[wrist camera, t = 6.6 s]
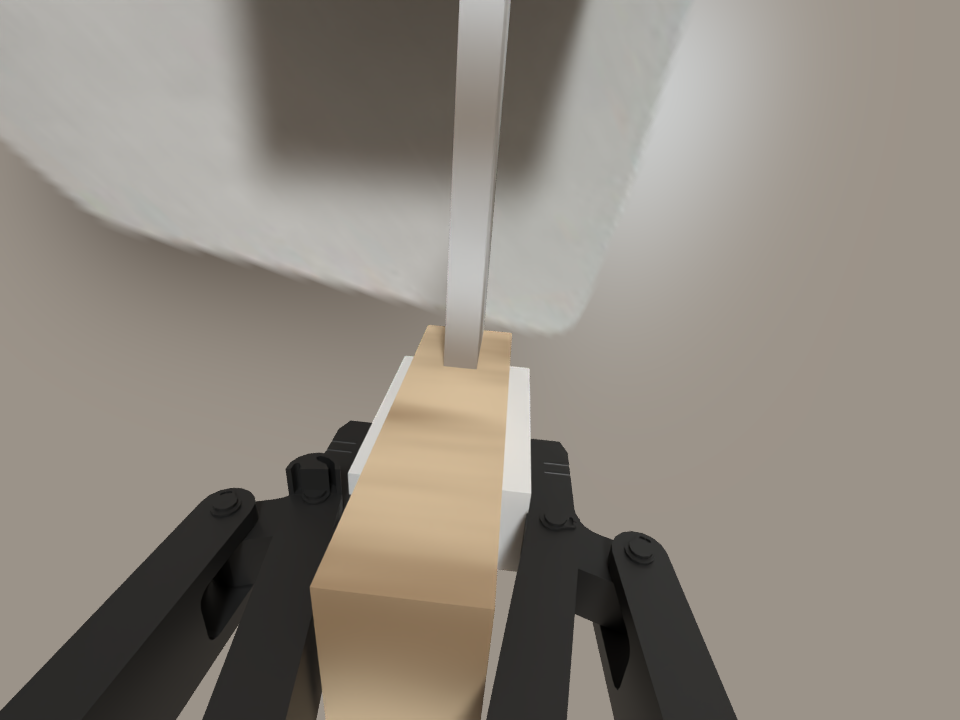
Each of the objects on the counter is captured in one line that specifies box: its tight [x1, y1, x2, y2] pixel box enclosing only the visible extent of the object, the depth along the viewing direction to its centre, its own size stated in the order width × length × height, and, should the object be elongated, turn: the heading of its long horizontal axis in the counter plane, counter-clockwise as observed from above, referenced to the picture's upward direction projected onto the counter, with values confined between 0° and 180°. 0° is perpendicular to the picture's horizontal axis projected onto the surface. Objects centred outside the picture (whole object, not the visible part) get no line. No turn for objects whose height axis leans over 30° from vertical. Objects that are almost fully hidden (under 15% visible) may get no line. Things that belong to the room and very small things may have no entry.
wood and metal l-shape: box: [310, 0, 512, 720], centre depth 11 cm, size 18×3×11 cm, turn 176°
